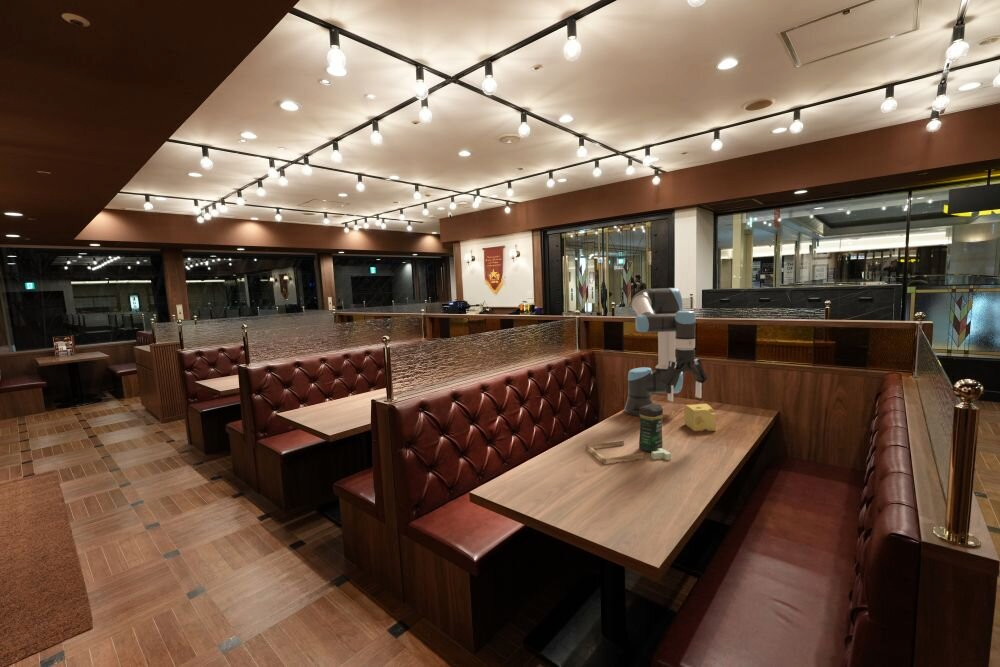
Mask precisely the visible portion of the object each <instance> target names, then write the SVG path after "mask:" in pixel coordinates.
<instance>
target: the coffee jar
mask: <svg viewBox="0 0 1000 667" xmlns="http://www.w3.org/2000/svg"><path fill="white" fill-rule="evenodd" d="M663 410H664V408H663V406H661V405H660V404H658V403H654V402H653V403H652V404H649V405H646V406H644V407H641V408H640V416H639V421H640V423H639V424H640V425H639V440H638V441H639V442H638V447H639V449H641V450H642V451H644V452H646V453H647V452H650V453H651V452H654V451H657V449H659V448H663V445H664V444H663V416H664V412H663Z"/></svg>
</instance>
